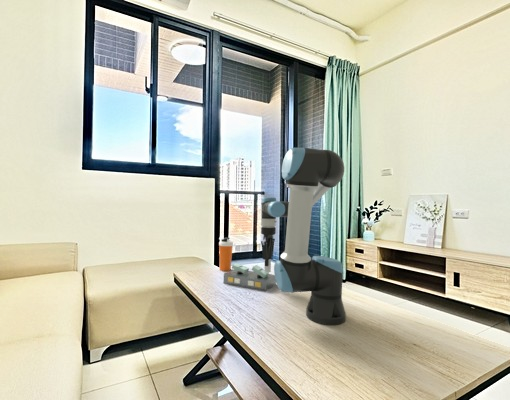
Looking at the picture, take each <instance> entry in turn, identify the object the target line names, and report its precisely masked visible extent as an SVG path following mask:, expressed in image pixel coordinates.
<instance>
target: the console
mask: <svg viewBox="0 0 510 400" xmlns="http://www.w3.org/2000/svg"><path fill="white" fill-rule="evenodd" d="M223 284H227V285H233V286H236V287H243V288H248V289H252V290H257V291H263V292H267V291H268V290H270V289H271V288H273V287H275V286H276V285H277V283H276V279H275V274H272V273H269V274H268V276H267V277H265V278H263V277H261V276H260V275H258V274H257V273H255V272H254V271H252V270H249V271H248V272H246V273H242V272H240V271H237V270H235V269H231V270H229V271H226V272H225V273H223Z"/></svg>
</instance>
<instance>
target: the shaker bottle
mask: <svg viewBox="0 0 510 400" xmlns="http://www.w3.org/2000/svg"><path fill="white" fill-rule="evenodd" d="M218 246H219V247H218V248H219V249H218V250H219V251H218V252H219V254H218V256H219V270H220V271H222V272H229V271H232V259H233V257H232V256H233V246H234V242H233V241H232V240H231V238H230V237H223V238H221V240H220V241H219V242H218Z"/></svg>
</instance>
